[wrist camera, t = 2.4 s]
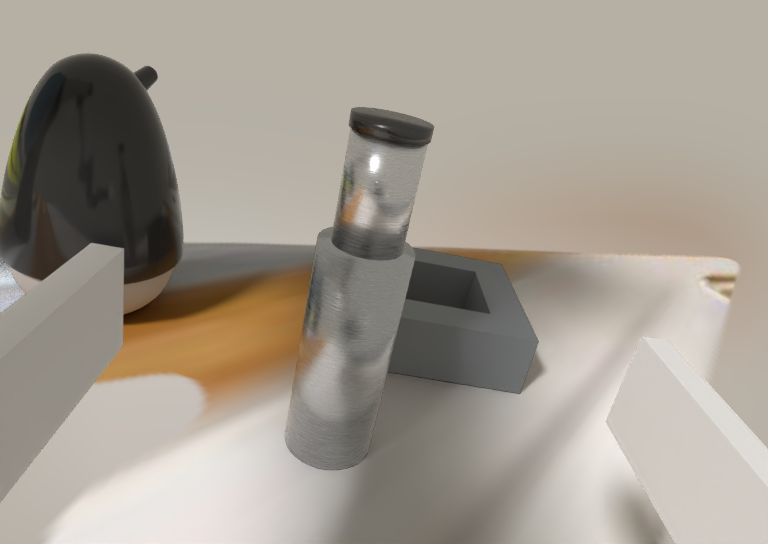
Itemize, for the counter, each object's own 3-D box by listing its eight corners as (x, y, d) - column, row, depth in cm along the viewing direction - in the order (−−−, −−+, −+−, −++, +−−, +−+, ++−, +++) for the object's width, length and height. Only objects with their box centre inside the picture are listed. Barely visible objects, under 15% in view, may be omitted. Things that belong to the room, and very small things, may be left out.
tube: (278, 462, 28) (335, 115, 21) (291, 405, 32) (342, 99, 25) (368, 476, 28) (452, 139, 21) (369, 417, 32) (440, 119, 25)
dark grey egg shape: (209, 288, 42) (228, 71, 36) (115, 360, 32) (119, 80, 26) (84, 251, 43) (81, 35, 37) (-41, 308, 34) (-72, 31, 27)
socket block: (336, 363, 36) (347, 308, 35) (346, 281, 47) (355, 236, 46) (519, 393, 37) (538, 341, 36) (488, 306, 48) (501, 264, 47)
